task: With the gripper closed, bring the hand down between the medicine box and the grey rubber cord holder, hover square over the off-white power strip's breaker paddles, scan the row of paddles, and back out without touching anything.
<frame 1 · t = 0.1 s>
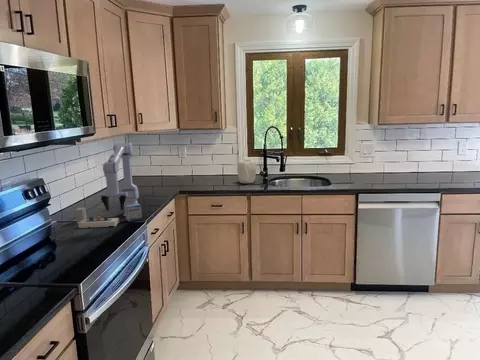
hand: (115, 209, 200), 10 cm above the counter, tool pointing down, fingers open, 7 cm apart
middle breaker paddle: (98, 218, 207), point 4 cm above the counter, hinge at 0.0°
breaker paddle near the cord holder: (91, 218, 207), point 4 cm above the counter, hinge at 0.0°
power strip: (99, 225, 208), on the counter
grey cord holder: (81, 222, 216), on the counter
breaker paddle near the box: (105, 218, 207), point 4 cm above the counter, hinge at 0.0°
white faceted vase: (246, 183, 315), on the counter
medicine box: (134, 219, 217), on the counter
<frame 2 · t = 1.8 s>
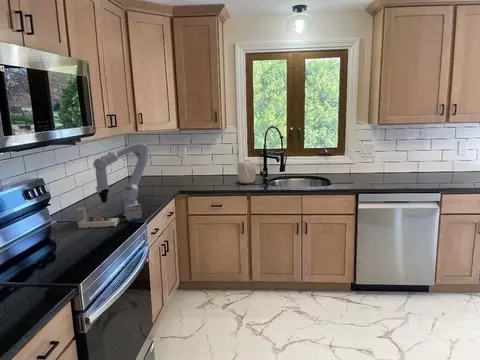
hand: (104, 202, 217), 10 cm above the counter, tool pointing down, fingers closed
nothing on the counter moved.
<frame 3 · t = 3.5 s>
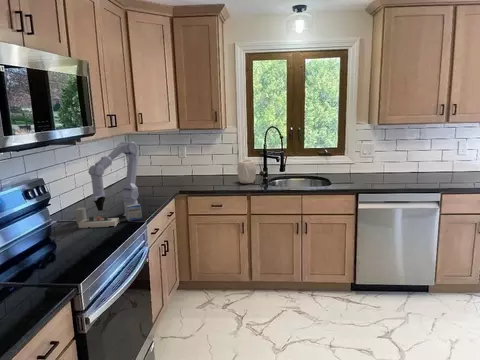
hand: (100, 210, 211), 7 cm above the counter, tool pointing down, fingers closed
nothing on the counter moved.
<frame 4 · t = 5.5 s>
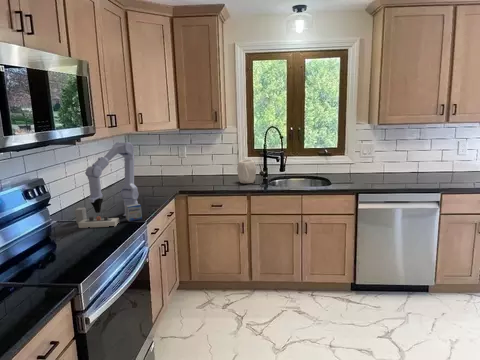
hand: (98, 212, 207), 7 cm above the counter, tool pointing down, fingers closed
nothing on the counter moved.
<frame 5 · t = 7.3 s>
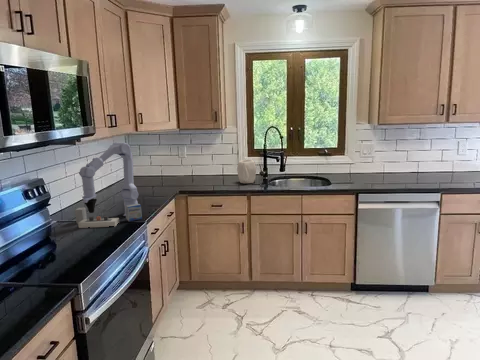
hand: (91, 212, 207), 7 cm above the counter, tool pointing down, fingers closed
nothing on the counter moved.
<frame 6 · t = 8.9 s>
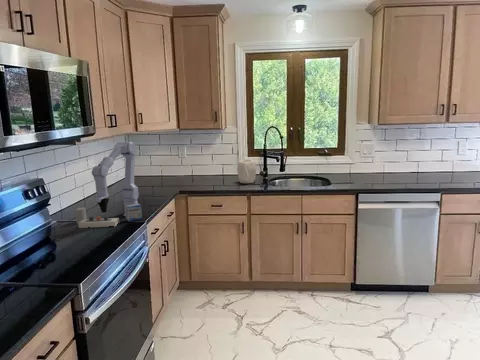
hand: (104, 212, 207), 7 cm above the counter, tool pointing down, fingers closed
nothing on the counter moved.
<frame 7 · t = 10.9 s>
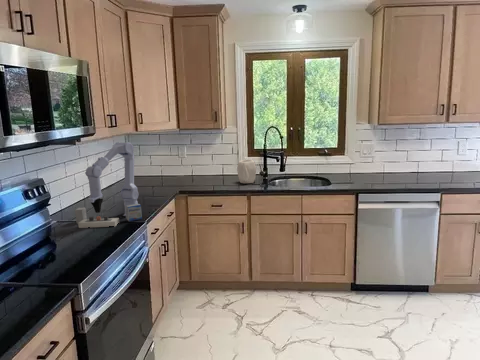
hand: (98, 212, 207), 7 cm above the counter, tool pointing down, fingers closed
nothing on the counter moved.
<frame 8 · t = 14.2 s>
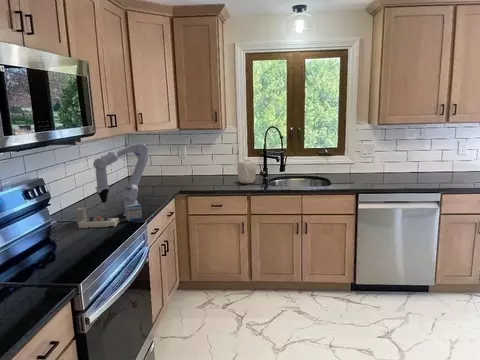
hand: (104, 202, 217), 10 cm above the counter, tool pointing down, fingers closed
nothing on the counter moved.
at the end: middle breaker paddle at +0° (first picture: +0°); medicine box moved 0.3 cm from its start; grey cord holder moved 0.1 cm from its start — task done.
